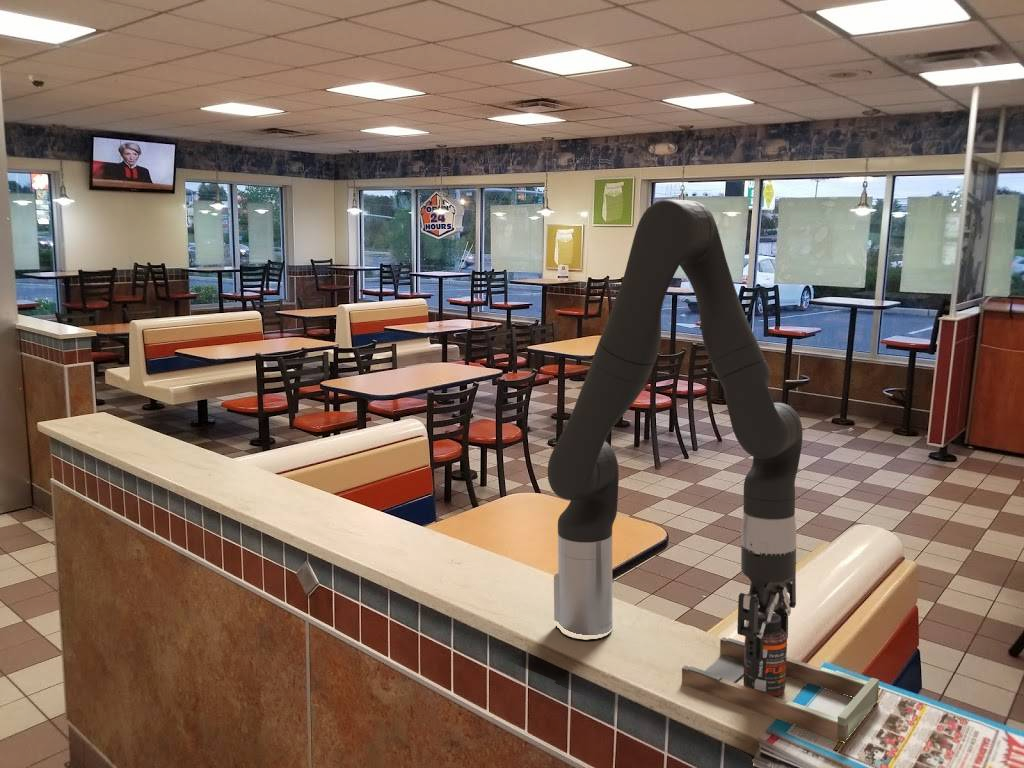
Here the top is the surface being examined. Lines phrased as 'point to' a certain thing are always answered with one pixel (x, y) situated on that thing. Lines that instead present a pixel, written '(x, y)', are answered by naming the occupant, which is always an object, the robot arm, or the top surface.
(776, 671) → the supplement bottle
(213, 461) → the top surface
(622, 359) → the robot arm
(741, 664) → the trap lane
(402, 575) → the top surface
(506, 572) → the top surface
